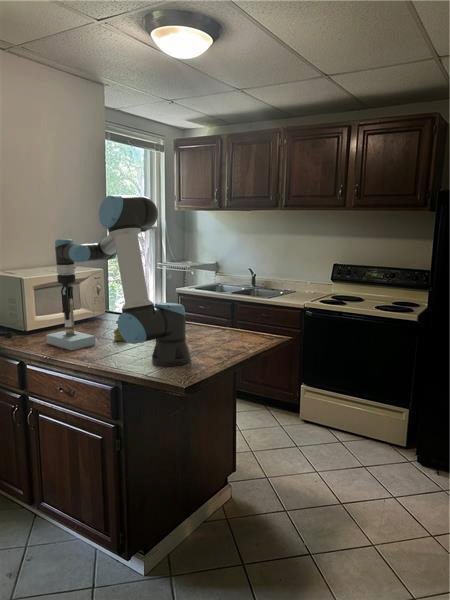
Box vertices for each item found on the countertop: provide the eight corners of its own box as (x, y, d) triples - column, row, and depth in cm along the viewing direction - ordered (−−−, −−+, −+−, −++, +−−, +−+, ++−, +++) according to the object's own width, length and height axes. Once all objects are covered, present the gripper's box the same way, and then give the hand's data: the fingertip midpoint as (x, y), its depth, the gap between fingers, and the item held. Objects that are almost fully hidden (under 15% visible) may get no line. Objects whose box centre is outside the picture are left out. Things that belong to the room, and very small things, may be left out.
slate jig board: (95, 344, 200) (94, 335, 200) (71, 350, 191) (71, 341, 190) (70, 337, 213) (69, 329, 212) (46, 343, 204) (46, 334, 203)
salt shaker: (118, 337, 212) (117, 317, 211) (132, 338, 211) (131, 317, 209) (111, 341, 205) (110, 320, 204) (126, 342, 204) (125, 321, 202)
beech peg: (71, 335, 199) (69, 300, 196) (63, 335, 200) (60, 300, 197) (76, 333, 203) (74, 298, 200) (68, 332, 204) (66, 298, 201)
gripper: (70, 276, 189) (74, 329, 193) (78, 271, 205) (81, 321, 209) (52, 276, 188) (56, 330, 192) (61, 272, 205) (65, 321, 208)
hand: (69, 325), depth 201 cm, fingers closed on beech peg, 4 cm apart
